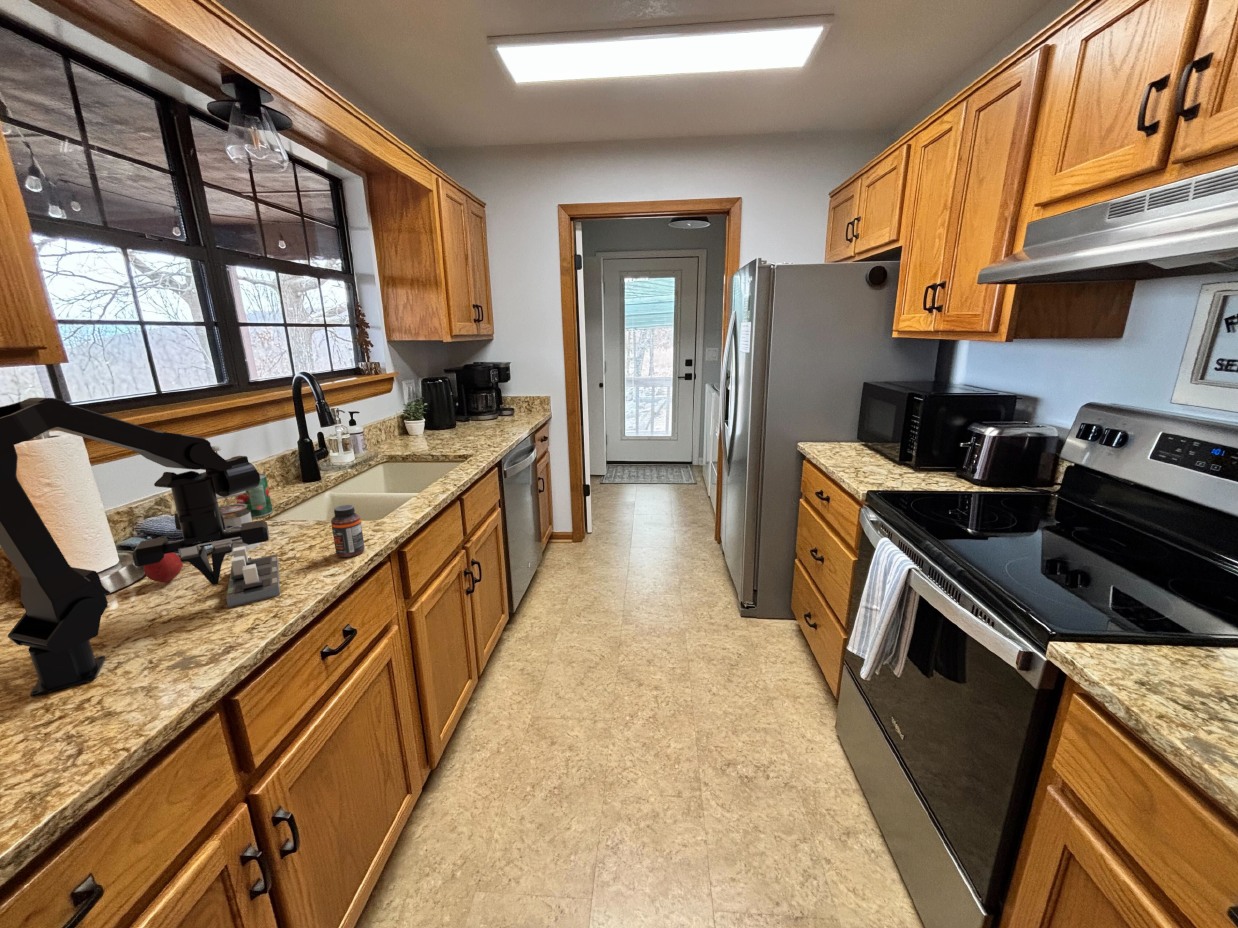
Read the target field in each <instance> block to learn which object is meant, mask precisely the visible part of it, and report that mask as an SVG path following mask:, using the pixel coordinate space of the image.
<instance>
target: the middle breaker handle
mask: <svg viewBox="0 0 1238 928" xmlns="http://www.w3.org/2000/svg"><path fill="white" fill-rule="evenodd" d="M230 562H231V566H232V568H233V571H232V574H231V580H234V579H238V578H243V577H244V575H243V571H242V570H243V566H246V562H245V557H244V556H240V557H235V558H234V557H231V560H230Z"/></svg>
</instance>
